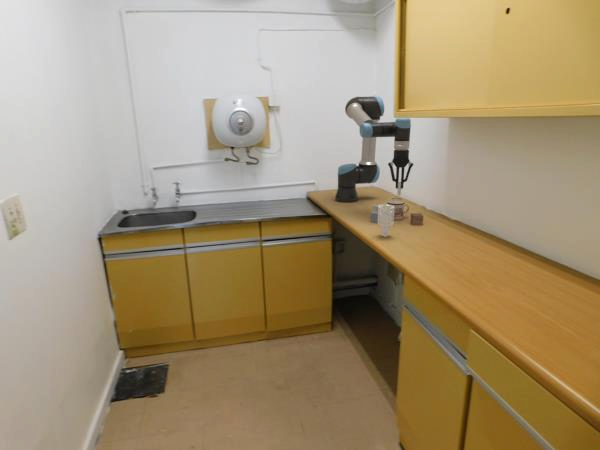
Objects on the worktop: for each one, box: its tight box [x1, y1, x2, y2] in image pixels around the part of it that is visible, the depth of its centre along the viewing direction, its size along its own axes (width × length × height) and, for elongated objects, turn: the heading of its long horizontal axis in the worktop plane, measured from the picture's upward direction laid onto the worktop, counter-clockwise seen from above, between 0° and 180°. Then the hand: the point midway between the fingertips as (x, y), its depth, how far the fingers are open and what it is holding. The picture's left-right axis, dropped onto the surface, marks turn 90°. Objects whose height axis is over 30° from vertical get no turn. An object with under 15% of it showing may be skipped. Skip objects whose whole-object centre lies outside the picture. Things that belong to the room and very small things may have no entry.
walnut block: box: [409, 212, 424, 226], centre depth 189 cm, size 5×5×5 cm
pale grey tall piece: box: [377, 204, 395, 238], centre depth 169 cm, size 7×7×15 cm
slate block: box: [369, 210, 378, 224], centre depth 195 cm, size 5×5×5 cm
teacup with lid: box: [386, 196, 410, 221], centre depth 200 cm, size 12×9×12 cm
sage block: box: [372, 204, 386, 212], centre depth 209 cm, size 5×5×5 cm
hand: (399, 194), depth 198 cm, fingers closed
